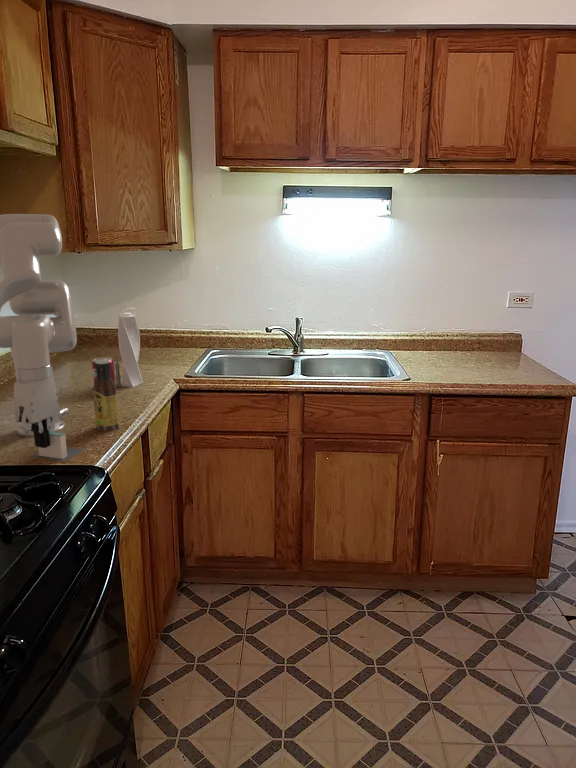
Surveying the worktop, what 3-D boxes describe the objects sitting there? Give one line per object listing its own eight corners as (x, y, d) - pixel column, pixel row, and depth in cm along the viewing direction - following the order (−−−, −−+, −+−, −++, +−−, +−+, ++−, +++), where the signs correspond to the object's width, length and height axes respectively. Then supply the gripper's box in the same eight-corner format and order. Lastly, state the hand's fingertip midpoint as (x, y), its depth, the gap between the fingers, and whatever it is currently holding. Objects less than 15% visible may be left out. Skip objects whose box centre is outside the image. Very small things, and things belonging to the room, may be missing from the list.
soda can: (107, 397, 195) (104, 362, 192) (89, 395, 197) (86, 361, 194) (120, 391, 202) (118, 358, 198) (103, 389, 204) (100, 356, 201)
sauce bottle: (94, 428, 165) (88, 360, 160) (117, 424, 168) (111, 357, 163) (99, 435, 160) (92, 365, 155) (122, 431, 163) (116, 362, 157)
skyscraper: (130, 381, 216) (125, 306, 209) (148, 383, 213) (142, 307, 205) (115, 386, 209) (108, 309, 201) (132, 389, 205) (126, 310, 198)
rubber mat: (53, 447, 151) (53, 445, 151) (85, 451, 148) (85, 449, 148) (31, 458, 144) (31, 456, 144) (64, 463, 141) (64, 461, 141)
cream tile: (67, 456, 144) (65, 433, 142) (62, 458, 142) (60, 435, 140) (44, 453, 146) (41, 430, 144) (39, 455, 144) (36, 432, 143)
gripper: (43, 364, 143) (51, 434, 148) (-4, 379, 130) (7, 455, 135) (68, 367, 141) (76, 437, 146) (23, 382, 127) (33, 459, 132)
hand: (42, 446), depth 140 cm, fingers closed
